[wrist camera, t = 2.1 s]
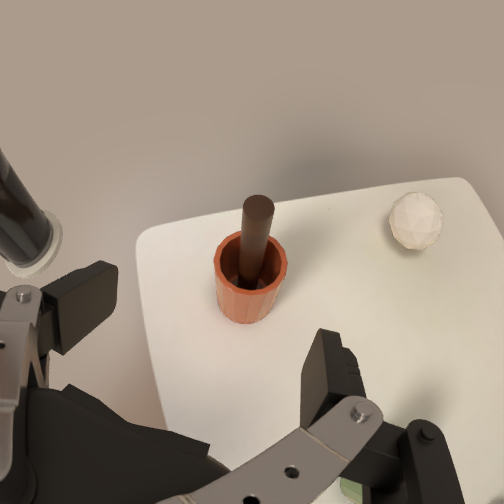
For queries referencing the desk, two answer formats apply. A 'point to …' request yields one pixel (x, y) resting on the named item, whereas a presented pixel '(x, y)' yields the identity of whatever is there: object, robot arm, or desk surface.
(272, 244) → the terracotta cup
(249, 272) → the muddler
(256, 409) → the desk surface
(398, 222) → the geometric ball
